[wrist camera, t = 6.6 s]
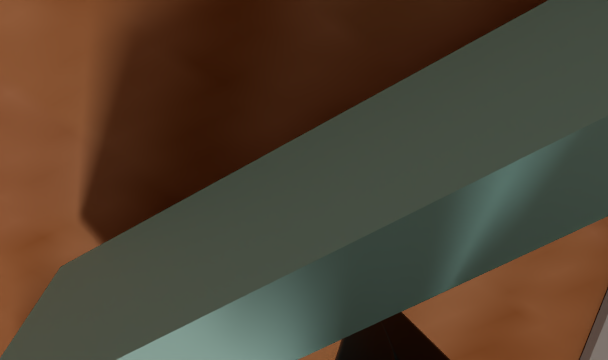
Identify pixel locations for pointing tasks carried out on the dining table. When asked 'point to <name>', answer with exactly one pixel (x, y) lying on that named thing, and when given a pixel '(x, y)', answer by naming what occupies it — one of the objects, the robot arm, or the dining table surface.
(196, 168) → the dining table surface
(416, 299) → the long teal plank
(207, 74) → the dining table surface
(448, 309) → the dining table surface
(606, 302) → the door frame
